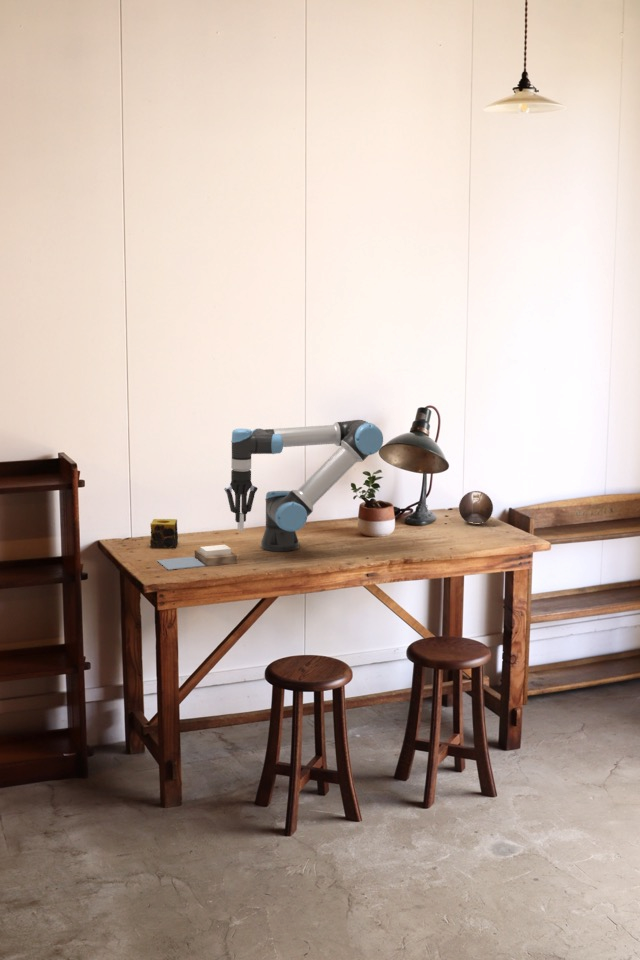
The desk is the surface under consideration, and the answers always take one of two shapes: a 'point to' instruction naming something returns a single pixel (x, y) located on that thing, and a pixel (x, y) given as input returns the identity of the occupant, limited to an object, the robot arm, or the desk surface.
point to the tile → (215, 550)
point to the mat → (181, 563)
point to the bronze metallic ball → (476, 507)
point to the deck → (216, 559)
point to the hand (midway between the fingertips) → (240, 530)
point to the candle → (164, 533)
